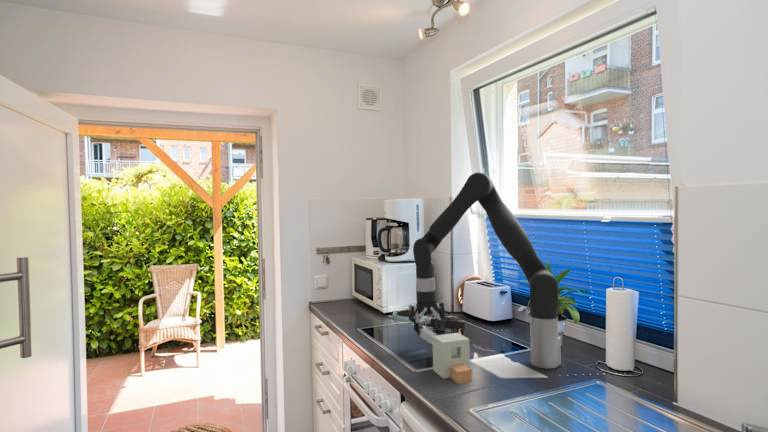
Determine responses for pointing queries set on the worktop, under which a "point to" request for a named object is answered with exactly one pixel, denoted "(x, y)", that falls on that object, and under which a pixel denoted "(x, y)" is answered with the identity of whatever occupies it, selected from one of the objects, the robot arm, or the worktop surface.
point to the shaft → (427, 336)
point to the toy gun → (446, 323)
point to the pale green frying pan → (405, 316)
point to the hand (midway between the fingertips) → (427, 330)
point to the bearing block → (449, 353)
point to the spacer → (461, 374)
